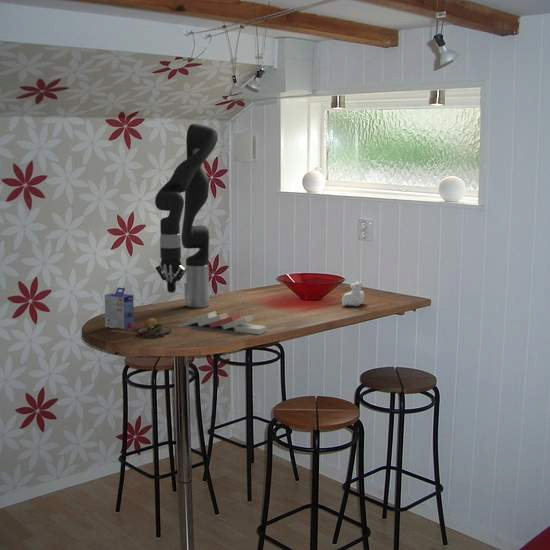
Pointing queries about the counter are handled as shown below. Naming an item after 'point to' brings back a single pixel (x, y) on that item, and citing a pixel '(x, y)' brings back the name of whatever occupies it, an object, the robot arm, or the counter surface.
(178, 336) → the counter surface
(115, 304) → the ink cartridge box
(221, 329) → the mat
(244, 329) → the domino
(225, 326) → the domino
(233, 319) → the red domino
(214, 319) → the domino
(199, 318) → the domino
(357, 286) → the duck figurine
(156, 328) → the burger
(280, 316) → the counter surface
